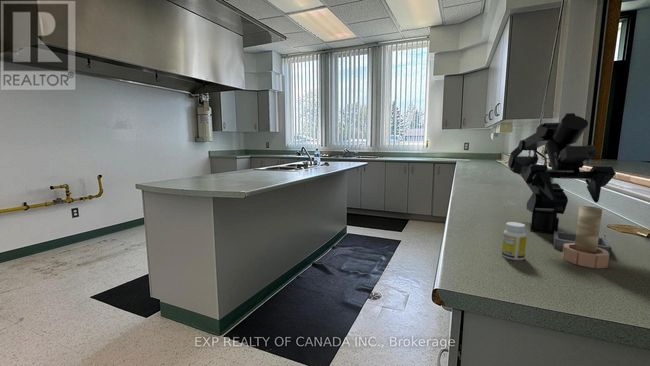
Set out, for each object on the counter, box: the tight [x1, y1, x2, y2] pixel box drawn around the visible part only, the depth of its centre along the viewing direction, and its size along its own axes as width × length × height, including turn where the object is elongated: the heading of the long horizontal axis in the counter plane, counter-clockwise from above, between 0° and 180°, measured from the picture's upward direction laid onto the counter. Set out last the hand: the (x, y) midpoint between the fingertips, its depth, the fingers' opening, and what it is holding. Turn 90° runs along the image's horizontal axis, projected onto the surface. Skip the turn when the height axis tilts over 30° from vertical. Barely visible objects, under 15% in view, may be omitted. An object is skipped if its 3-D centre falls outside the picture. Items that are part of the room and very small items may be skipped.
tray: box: [552, 230, 613, 258], centre depth 79 cm, size 11×9×2 cm
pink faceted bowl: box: [561, 243, 610, 269], centre depth 71 cm, size 8×8×3 cm
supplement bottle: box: [501, 221, 527, 261], centre depth 73 cm, size 5×5×8 cm
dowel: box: [574, 205, 603, 254], centre depth 70 cm, size 4×4×13 cm
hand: (575, 200), depth 76 cm, fingers open, 9 cm apart
